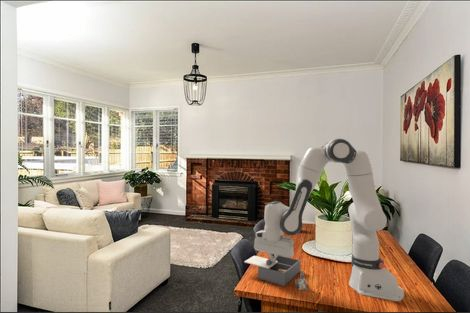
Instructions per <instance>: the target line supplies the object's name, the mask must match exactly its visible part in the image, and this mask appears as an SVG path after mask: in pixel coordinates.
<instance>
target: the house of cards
mask: <svg viewBox="0 0 470 313" xmlns="http://www.w3.org/2000/svg"><path fill="white" fill-rule="evenodd" d="M304 274H305V273H304V270H300V278H298V279H294V280H295V281H294V282H295V288H298V290H299V291H308V285H307V280H306V278H304V276H305V275H304Z"/></svg>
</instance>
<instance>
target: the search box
mask: <svg viewBox="0 0 470 313" xmlns="http://www.w3.org/2000/svg"><path fill="white" fill-rule="evenodd" d="M273 258H275V256H273ZM276 261H278V262H277V263H276V264H275V265H273V266H272V267H271V268H269V269H267V268H264V267H260V266H257V279H258V280H261V281H264V282H267V283H271V284H275V285H278V286H281V287H286V286H287V284H289V283H290V282H291V281H292V280H293V279H294V278H295V277H296V276H297V275H298V274H300V273H301V259H296V258H293V257H285V256H280V255H278V257H277V259H276ZM279 269H283V270H287V271H285V272H284V273H282V272H279V271H278V270H279Z"/></svg>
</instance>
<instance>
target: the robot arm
mask: <svg viewBox="0 0 470 313" xmlns="http://www.w3.org/2000/svg"><path fill="white" fill-rule="evenodd" d="M330 162H332V163H335V164H336V163H339V164H340V163H341V164H343V165H344V167H345V171H346V172H345V173H346V179H347V186H348V192H349V195H350V196H351V198H352V201H353V202H352V203H350V205H349V206H348V208H347V210H348V214H349V215H348V216H349V221H350V228H351V233H352V234H351V235H352V254H351V274H350V278H349V281H348V285H349V286H350V287H351V288H352V289H353V290H354V291H356V292H357V293H358V294H359V295H361V296H365V297H371V298H377V299H382V300H387V301H392V302H401V301H402V300H403V299H404V298H405V291H404V289H403V288H402V287H401V286H400V285H399V283H398V281H397V277H396V276H395V275H394V274H393V273H391V272H390V271H389V270H388V269H387V268H385V262H384V259H381V258H380V241H379V237H378V234H377V232H378V231H379V232H380V231H382V230H384V228H385V227H386V226H387V221H388V220H387V216H386V214H385V212H384V211H383V207H382V205H381V201H380V199H379V196H378V193H377V190H376V186H375V180H374V175H373V174H374V173H373V168H372V163H371V161H370V158H369V155H368V154H367V153H366V151H363V150H361V149H360V150H356V149H355V148H354V147H353V145H352V144H351V143H350V142H349V141H348V140H347V139H344V138H334V139H331V140H330V141H328V142H326V143H325V144H324V145H323V146H322V147H320V146H311V147H309V148H307V150H306V152H305V154H304V155H303V157H302V159H301V161H300V164H299V166H298V168H297V173H296V178H295V191H294V192H295V193H294V195H293V198H292V199H291V202H290V206H287V205H285V204H283V203H282V202H281V201H276V200H274V201H271V202H268V203H266V205H265V206H264V215H263V216H264V217H263V218H264V219H263V220H264V223H265V224H264V228H263V229H261V230H259V231H256V232H255V238H254V244H253V248H254V250H255V251H257V252H263V253H267V254H268V257H269V259H271V262H273V263H276V259H277V257H278V255H280V256H284V257H289V258H293V256H294V251H295V250H294V240H293V239H292V238H291V237H289V236H297V235H298V234H300V232H301V231H302V230H301V229H303V214H304V211H305V208H306V205H307V203H308V200H309V197H310V195H311V194H312V192H313V190H314V189H315V188H316V186H317V184H318V183H319V181H320V179H321V177H322V173H323V172H324V168H325V167H326V165H327V164H328V163H330ZM283 233H284V234H285V235H283ZM286 235H288V236H286ZM272 254H274V256H275V258H273V256H272Z"/></svg>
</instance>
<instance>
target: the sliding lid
mask: <svg viewBox="0 0 470 313" xmlns="http://www.w3.org/2000/svg"><path fill="white" fill-rule="evenodd" d="M243 262H244V263H245V264H250V265H251V266H257V267H258V266H260V267H264V268H267V269H269V268H271V267H272V266H273V265H275V264H276V263H277V262H278V261H276V263H273V262H271V259H270V258H266V257H262V256H257V255H253V256H251V257H249V258H248V259H246V260H244V261H243Z"/></svg>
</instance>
